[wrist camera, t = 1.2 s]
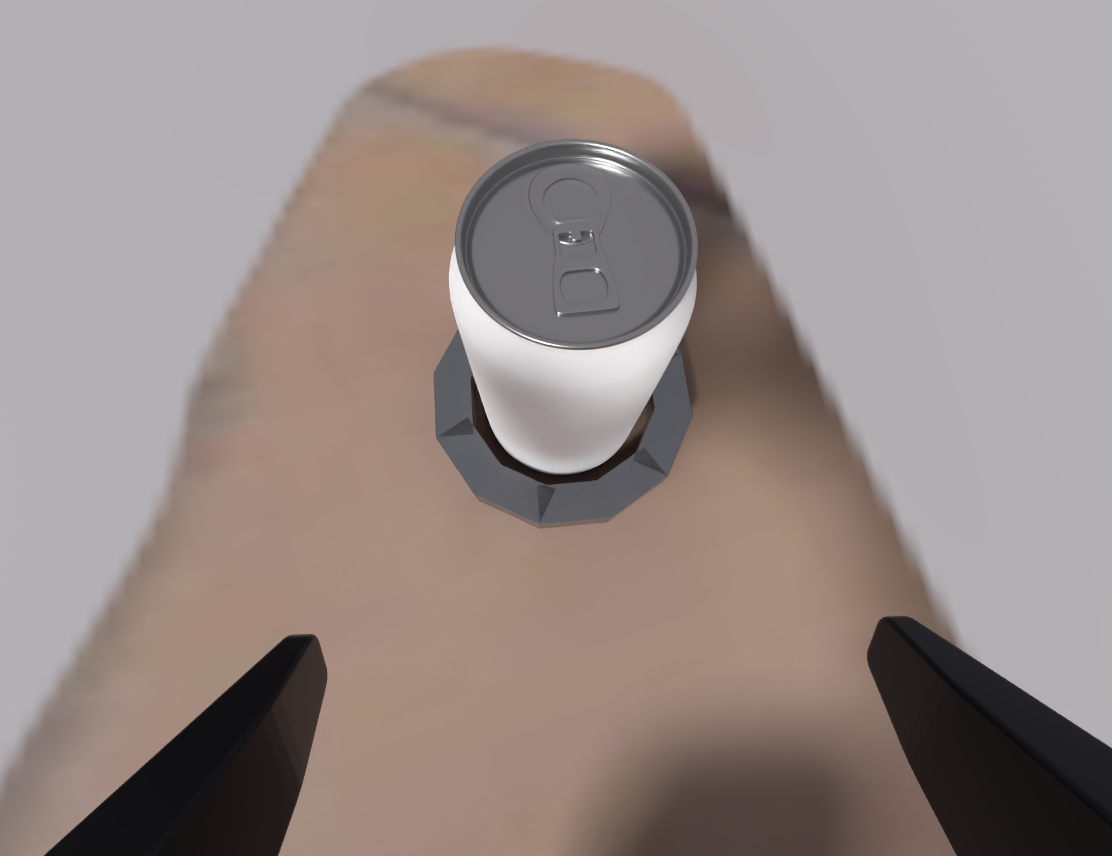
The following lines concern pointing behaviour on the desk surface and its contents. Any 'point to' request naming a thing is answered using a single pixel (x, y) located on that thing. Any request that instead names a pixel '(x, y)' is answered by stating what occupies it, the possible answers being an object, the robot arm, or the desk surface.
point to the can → (571, 296)
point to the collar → (568, 499)
